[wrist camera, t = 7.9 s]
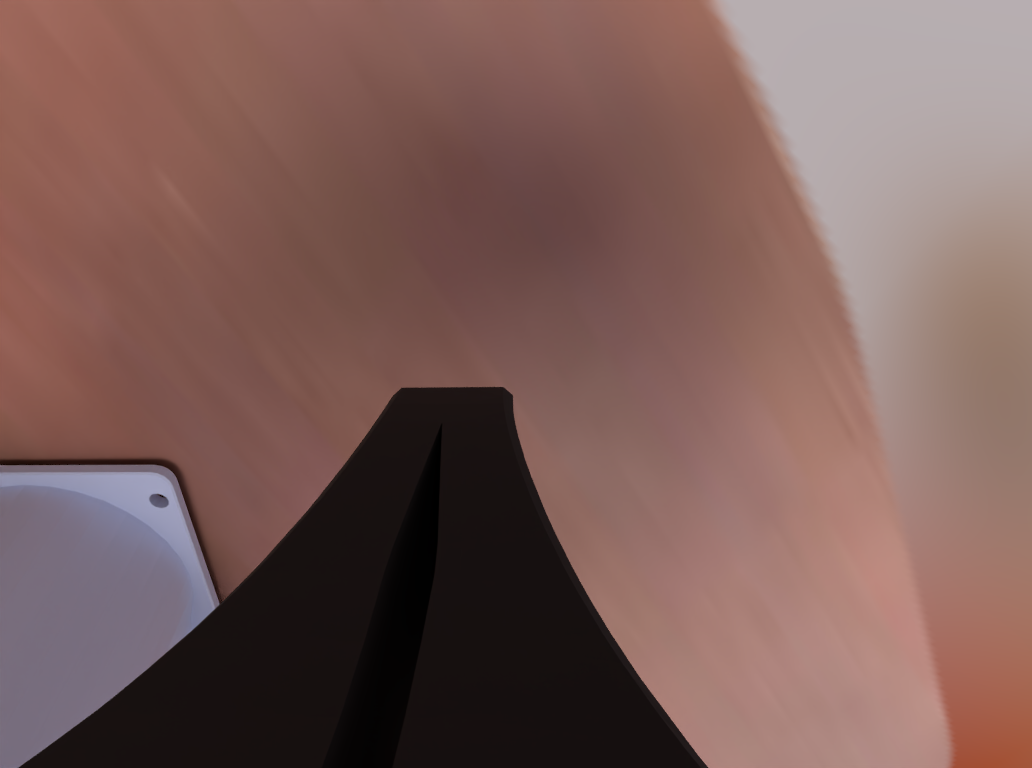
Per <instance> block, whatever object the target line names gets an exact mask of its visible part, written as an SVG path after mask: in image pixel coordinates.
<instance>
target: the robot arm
mask: <svg viewBox="0 0 1032 768" xmlns="http://www.w3.org/2000/svg"><path fill="white" fill-rule="evenodd" d="M157 494H161V495H163V496H165V497H166V498H163V497H160V496H159V495H157ZM0 768H708V767H707V766H706V764H705V763H704V762H703V761H702V760H701V758H700V757H699V756H698V755H697V753H696V752H695V751H694V749H693V748H692V747H691V745H690V744H689V743H688V741H687V740H686V739H685V737H684V736H683V735H682V733H681V732H680V731H679V729H678V728H677V727H676V725H675V724H674V723H673V721H672V720H671V719H670V717H669V716H668V715H667V713H666V712H665V711H664V709H663V708H662V707H661V705H660V704H659V703H658V701H657V700H656V699H655V697H654V696H653V695H652V693H651V692H650V690H649V689H648V688H647V686H646V685H645V684H644V682H643V681H642V680H641V678H640V677H639V675H638V674H637V673H636V671H635V670H634V668H633V667H632V665H631V664H630V662H629V661H628V659H627V657H626V656H625V654H624V653H623V651H622V650H621V648H620V647H619V645H618V644H617V642H616V641H615V639H614V638H613V636H612V635H611V633H610V631H609V630H608V628H607V627H606V625H605V623H604V622H603V620H602V618H601V617H600V615H599V613H598V612H597V610H596V609H595V607H594V605H593V604H592V602H591V600H590V598H589V597H588V595H587V593H586V591H585V590H584V588H583V586H582V584H581V582H580V581H579V579H578V577H577V575H576V573H575V571H574V570H573V568H572V566H571V564H570V562H569V560H568V558H567V556H566V554H565V552H564V550H563V548H562V546H561V544H560V542H559V540H558V538H557V536H556V534H555V532H554V530H553V527H552V525H551V523H550V521H549V519H548V516H547V514H546V512H545V510H544V507H543V505H542V502H541V500H540V497H539V495H538V492H537V490H536V487H535V485H534V482H533V480H532V478H531V475H530V472H529V469H528V467H527V464H526V461H525V458H524V454H523V451H522V448H521V444H520V441H519V438H518V434H517V429H516V425H515V420H514V413H513V395H512V394H511V393H509V392H508V391H507V390H506V389H505V388H504V387H450V388H401V389H400V390H399V391H398V392H397V393H396V394H395V395H393V397H392V398H391V400H390V401H389V403H388V404H387V406H386V407H385V409H384V410H383V412H382V413H381V415H380V416H379V418H378V419H377V421H376V422H375V424H374V425H373V426H372V428H371V429H370V431H369V432H368V433H367V435H366V436H365V438H364V439H363V440H362V442H361V443H360V444H359V446H358V447H357V449H356V450H355V451H354V453H353V454H352V455H351V457H350V458H349V459H348V461H347V462H346V463H345V465H344V466H343V467H342V468H341V470H340V471H339V472H338V473H337V475H336V476H335V477H334V478H333V480H332V481H331V482H330V484H329V485H328V486H327V487H326V489H325V490H324V491H323V492H322V494H321V495H320V496H319V497H318V499H317V500H316V501H315V502H314V504H313V505H312V506H311V507H310V508H309V510H308V511H307V512H306V513H305V514H304V515H303V517H302V518H301V519H300V520H299V521H298V522H297V523H296V524H295V525H294V527H293V528H292V529H291V530H290V531H289V532H288V533H287V534H286V536H285V537H284V538H283V539H282V540H281V541H280V542H279V543H278V545H277V546H276V547H275V548H274V549H273V550H272V551H271V552H270V554H269V555H268V556H267V557H266V558H265V559H264V560H263V561H262V562H261V563H260V564H259V565H258V567H257V568H256V569H255V570H254V571H253V572H252V573H251V574H250V575H249V576H248V577H247V578H246V579H245V580H244V581H243V582H242V583H241V584H240V585H239V586H238V587H237V588H236V589H235V590H234V591H233V592H232V593H231V594H230V595H229V596H228V597H227V598H226V599H225V600H224V601H223V602H222V603H221V604H219V601H218V598H217V595H216V592H215V589H214V586H213V583H212V580H211V577H210V574H209V571H208V569H207V566H206V563H205V560H204V557H203V554H202V551H201V548H200V545H199V542H198V539H197V536H196V533H195V530H194V527H193V525H192V522H191V519H190V516H189V513H188V510H187V507H186V504H185V501H184V498H183V495H182V492H181V489H180V486H179V484H178V481H177V478H176V476H175V475H174V473H173V472H171V471H170V470H169V469H168V468H165V467H163V466H159V465H0Z"/></svg>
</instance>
